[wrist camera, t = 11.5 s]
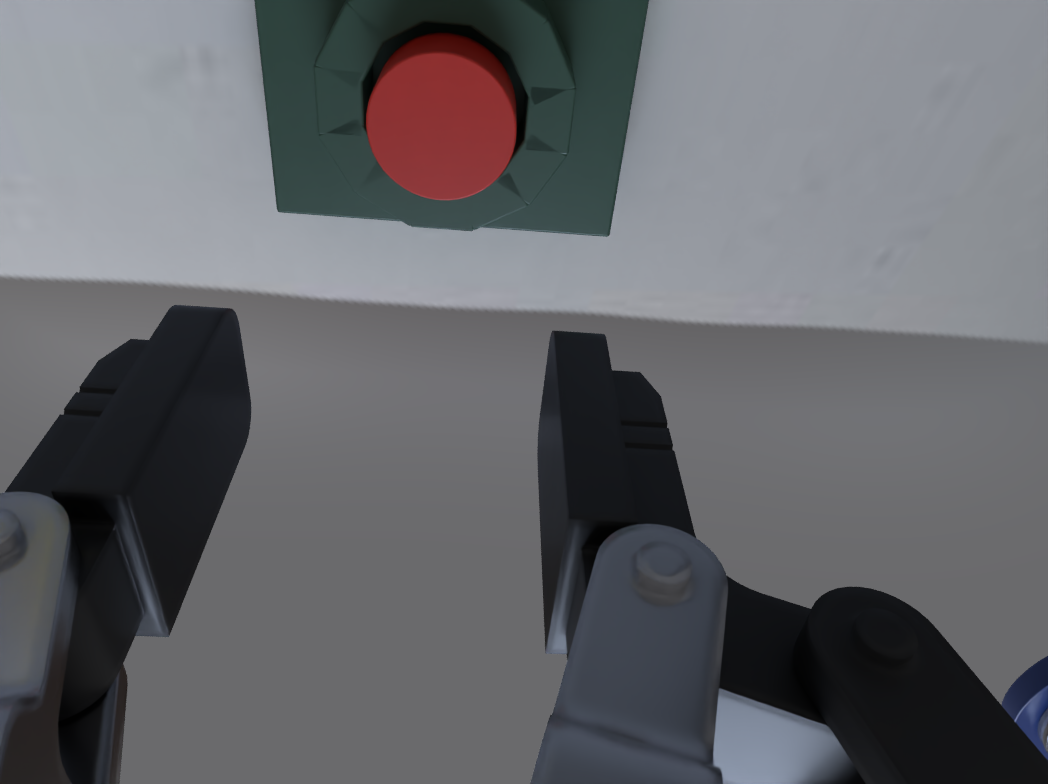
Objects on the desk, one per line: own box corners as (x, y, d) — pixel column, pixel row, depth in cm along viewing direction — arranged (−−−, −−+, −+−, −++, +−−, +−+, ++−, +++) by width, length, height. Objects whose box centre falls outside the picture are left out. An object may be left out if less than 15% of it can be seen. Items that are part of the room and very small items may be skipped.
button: (522, 38, 19) (522, 58, 18) (510, 179, 22) (510, 206, 20) (373, 25, 19) (363, 44, 18) (377, 168, 21) (367, 195, 20)
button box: (647, -73, 21) (671, -47, 18) (602, 207, 26) (615, 266, 23) (265, -111, 20) (220, -92, 17) (292, 183, 25) (261, 240, 22)
